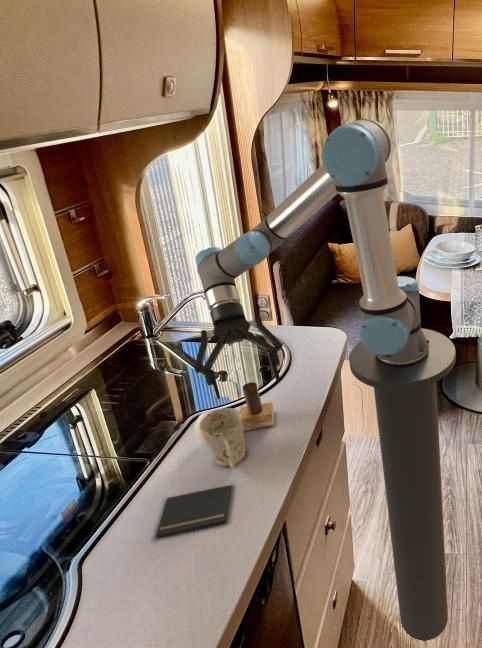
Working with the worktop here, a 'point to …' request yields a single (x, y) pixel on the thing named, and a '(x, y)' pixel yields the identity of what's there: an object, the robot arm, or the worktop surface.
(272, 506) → the worktop surface
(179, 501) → the counter mat
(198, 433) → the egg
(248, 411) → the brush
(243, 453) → the mug
